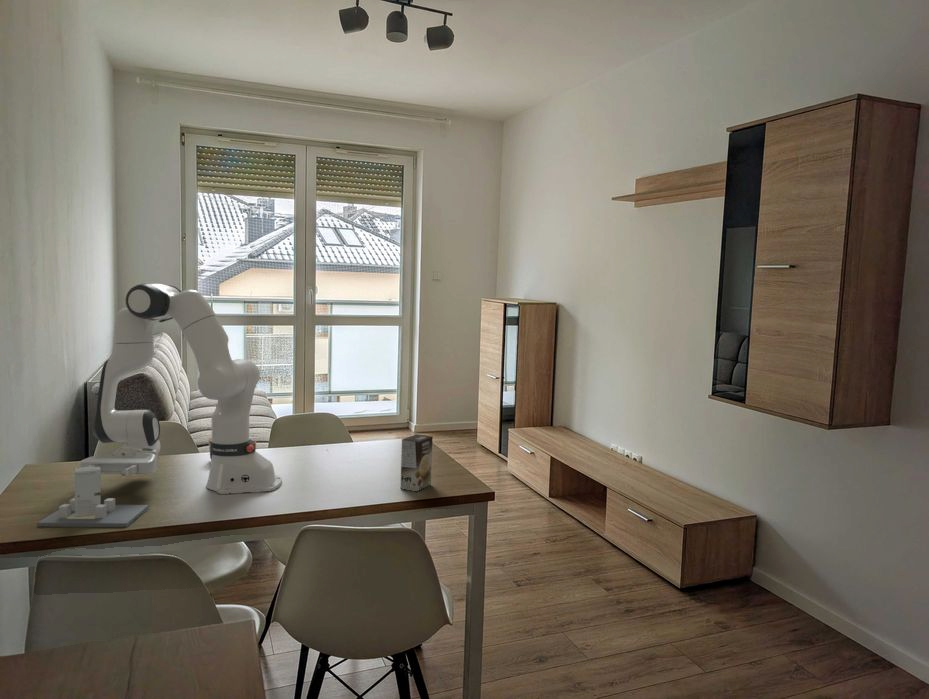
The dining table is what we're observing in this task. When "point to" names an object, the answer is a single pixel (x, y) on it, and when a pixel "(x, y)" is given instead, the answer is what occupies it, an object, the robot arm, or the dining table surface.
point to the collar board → (102, 518)
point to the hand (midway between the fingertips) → (106, 472)
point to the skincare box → (87, 490)
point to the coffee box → (416, 462)
